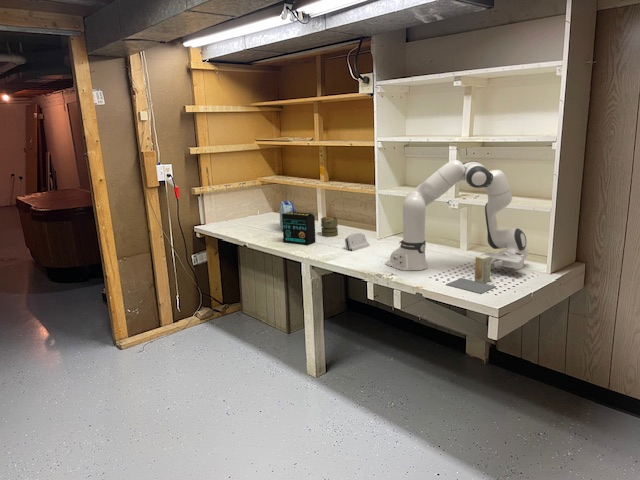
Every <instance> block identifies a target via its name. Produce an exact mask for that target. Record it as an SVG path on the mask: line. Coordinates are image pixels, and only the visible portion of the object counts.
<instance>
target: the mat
mask: <svg viewBox="0 0 640 480" xmlns="http://www.w3.org/2000/svg"><path fill="white" fill-rule="evenodd" d="M445 286H448V287H452V288H456V289H460V290H464V291H468V292H471V293H476V294H479V295H482V294H484V293H485V294H486V293H487V292H488V291H491V290H493V289H495V288H497V285H492V284H488V283H486V282H484V283H481V282H476V281H475V280H471V279H467V278H462V277H460V278H458V279H455V280H453V281H450V282H448V283H446V284H445Z"/></svg>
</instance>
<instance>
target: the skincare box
mask: <svg viewBox="0 0 640 480" xmlns="http://www.w3.org/2000/svg"><path fill="white" fill-rule="evenodd" d="M474 260H475V261H474V263H475V264H474V265H475V266H474V281H476V282H481V283H487V282H490V281H491V271H492V270H491V266H492V265H491V256H488V255H481V254H480V255H478V256H477V255H476V256H475V259H474Z"/></svg>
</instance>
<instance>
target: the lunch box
mask: <svg viewBox="0 0 640 480" xmlns="http://www.w3.org/2000/svg"><path fill="white" fill-rule="evenodd" d="M290 211H293V212H297V210H296V207H295V205H294V204H293V202H292V201H291V200H283V201H280V203H279V227H280V228H281V230H282V231H283V221H282V214H284V213H285V214H286V213H287V212H290Z"/></svg>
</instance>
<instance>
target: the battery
mask: <svg viewBox="0 0 640 480" xmlns="http://www.w3.org/2000/svg"><path fill="white" fill-rule="evenodd" d="M315 216H316V215H314V212H313V211H309V212H299V211H296V212H293V211H290V212H287V213H286V214H285V213H284V214H282V221H283V230H282V240H283V243H285V244H295V245H303V246H310V245H313V244H315V243H316V220H315V219H316V218H315Z"/></svg>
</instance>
